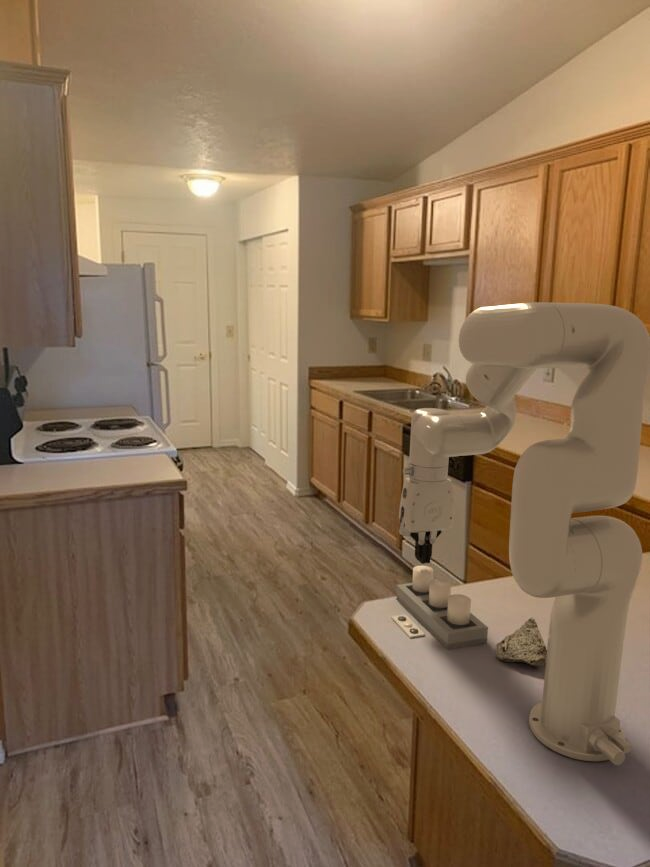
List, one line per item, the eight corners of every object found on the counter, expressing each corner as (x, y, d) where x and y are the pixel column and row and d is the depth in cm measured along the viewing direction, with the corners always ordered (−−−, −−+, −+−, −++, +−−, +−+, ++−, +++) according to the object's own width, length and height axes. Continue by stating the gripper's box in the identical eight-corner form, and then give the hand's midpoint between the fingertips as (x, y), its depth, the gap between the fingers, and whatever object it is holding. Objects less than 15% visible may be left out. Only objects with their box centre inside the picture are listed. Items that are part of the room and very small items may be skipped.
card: (424, 635, 118) (425, 633, 118) (410, 638, 117) (410, 635, 117) (405, 615, 125) (405, 613, 125) (391, 618, 124) (391, 615, 124)
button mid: (453, 606, 122) (455, 586, 121) (435, 609, 121) (436, 589, 120) (443, 597, 126) (444, 578, 125) (425, 600, 125) (426, 580, 124)
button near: (473, 623, 116) (475, 602, 115) (454, 626, 114) (455, 605, 114) (462, 613, 119) (463, 593, 119) (442, 616, 118) (444, 595, 117)
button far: (435, 591, 129) (437, 572, 128) (417, 593, 127) (418, 574, 127) (426, 583, 132) (427, 564, 132) (408, 585, 131) (409, 566, 130)
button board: (486, 642, 116) (487, 627, 115) (447, 649, 113) (448, 633, 112) (430, 593, 135) (431, 580, 134) (396, 598, 132) (396, 584, 132)
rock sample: (479, 623, 115) (521, 600, 111) (503, 641, 118) (545, 620, 115) (493, 675, 106) (539, 652, 103) (519, 693, 110) (564, 672, 106)
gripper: (401, 479, 120) (396, 572, 123) (472, 474, 124) (465, 564, 128) (384, 469, 126) (380, 557, 130) (452, 465, 131) (446, 550, 135)
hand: (422, 560), depth 129 cm, fingers closed
